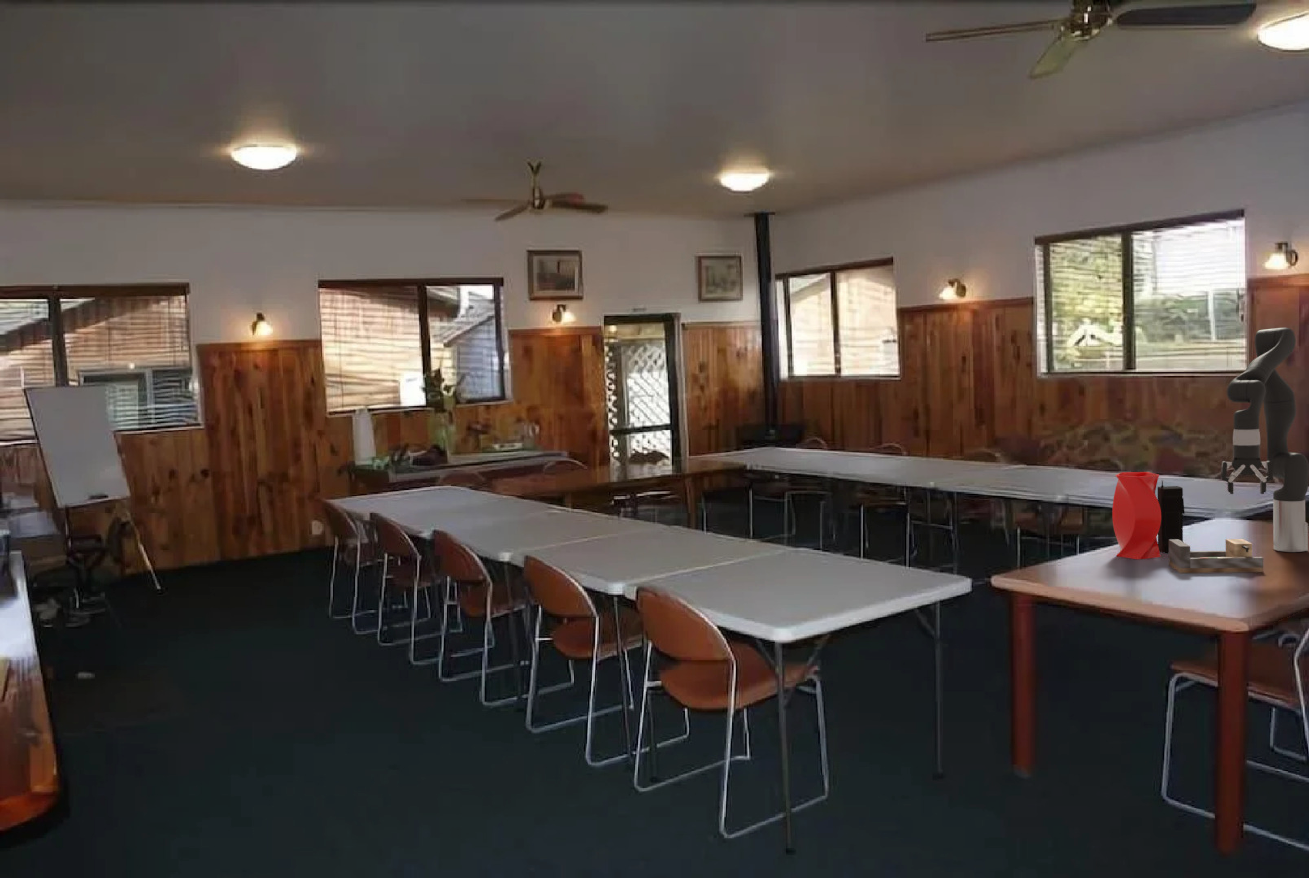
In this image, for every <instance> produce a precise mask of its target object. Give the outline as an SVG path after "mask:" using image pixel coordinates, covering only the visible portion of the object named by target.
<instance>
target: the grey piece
mask: <svg viewBox="0 0 1309 878" xmlns="http://www.w3.org/2000/svg"><path fill="white" fill-rule="evenodd" d="M1168 566H1169V567H1171V568H1172V569H1174V570H1175V571H1176V572H1178V573H1180V574H1199V573H1200V574H1201V573H1204V574H1207V573H1208V574H1209V573H1210V574H1211V573H1213V574H1214V573H1218V574H1219V573H1222V574H1223V573H1264V557H1263V556H1252V557H1226V550H1191V545H1188V544H1187V543H1186V542H1184V541H1183V542H1182V541H1181V540H1179V539H1169V553H1168Z"/></svg>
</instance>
